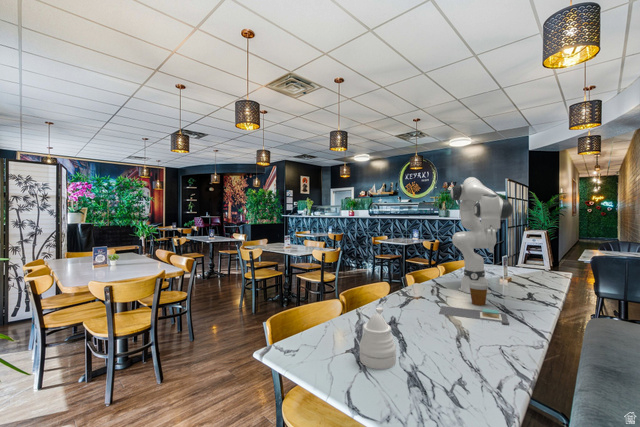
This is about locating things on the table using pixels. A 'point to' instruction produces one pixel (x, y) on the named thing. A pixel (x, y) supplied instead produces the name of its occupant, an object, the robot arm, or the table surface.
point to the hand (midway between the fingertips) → (490, 251)
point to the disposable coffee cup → (478, 293)
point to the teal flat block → (490, 313)
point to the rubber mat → (472, 314)
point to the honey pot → (377, 343)
